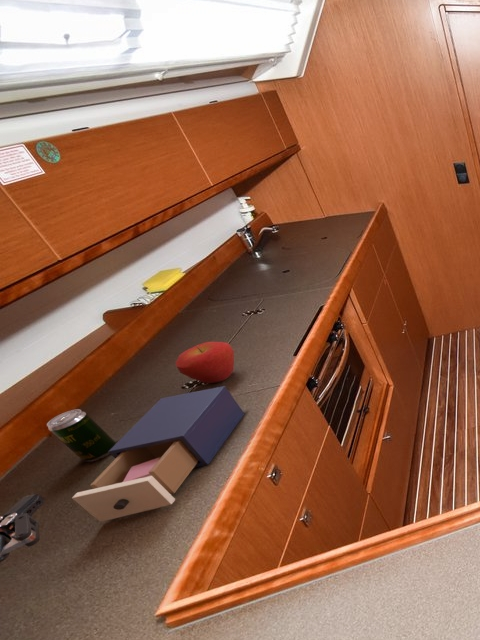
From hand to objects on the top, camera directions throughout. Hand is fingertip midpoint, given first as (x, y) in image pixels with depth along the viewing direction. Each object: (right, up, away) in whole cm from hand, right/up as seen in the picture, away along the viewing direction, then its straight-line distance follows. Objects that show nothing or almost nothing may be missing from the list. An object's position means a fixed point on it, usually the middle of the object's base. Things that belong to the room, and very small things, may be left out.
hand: (35, 497), depth 69 cm
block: (0, -6, +17) cm, 18 cm away
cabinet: (-3, -2, +28) cm, 28 cm away
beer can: (-24, -4, +26) cm, 36 cm away
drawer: (0, -7, +18) cm, 19 cm away
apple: (-18, +9, +48) cm, 52 cm away
